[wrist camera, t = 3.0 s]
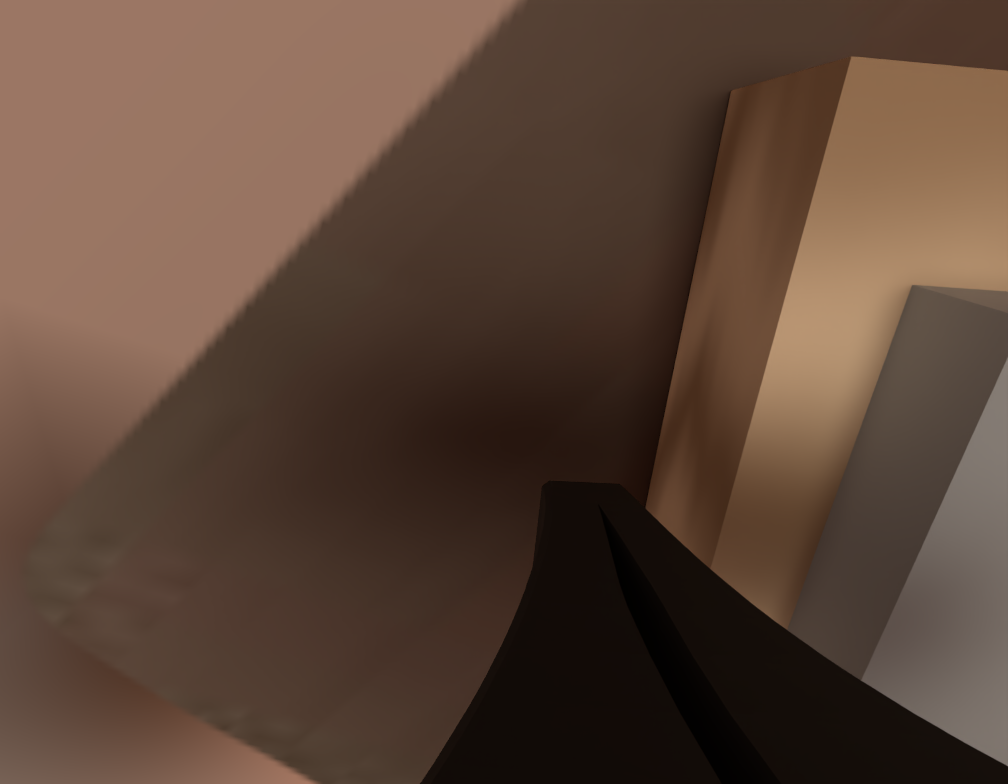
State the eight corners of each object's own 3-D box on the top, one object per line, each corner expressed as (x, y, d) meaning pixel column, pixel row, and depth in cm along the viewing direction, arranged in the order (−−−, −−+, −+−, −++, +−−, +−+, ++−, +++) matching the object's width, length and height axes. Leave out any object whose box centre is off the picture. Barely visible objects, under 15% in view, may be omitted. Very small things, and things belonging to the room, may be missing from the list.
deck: (1044, 652, 18) (1190, 782, 14) (618, 639, 17) (654, 772, 13) (1357, 145, 12) (1745, 139, 8) (731, 90, 11) (851, 56, 7)
